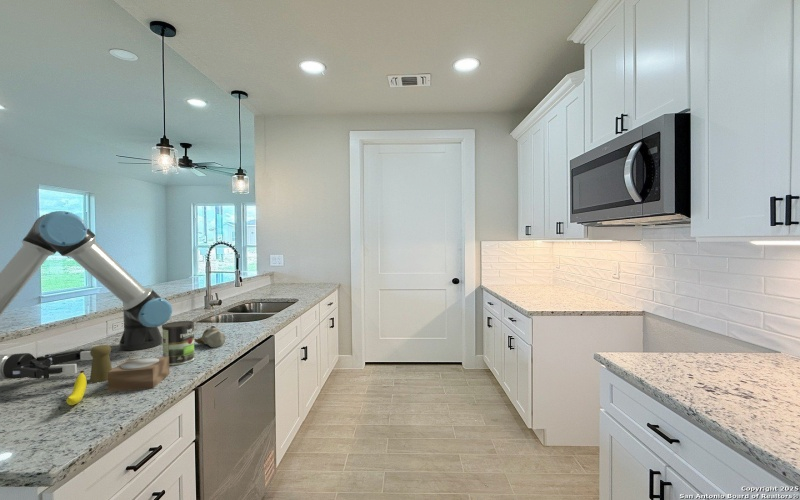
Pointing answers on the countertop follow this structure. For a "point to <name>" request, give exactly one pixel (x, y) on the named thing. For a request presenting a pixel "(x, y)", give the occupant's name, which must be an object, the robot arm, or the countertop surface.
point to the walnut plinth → (138, 374)
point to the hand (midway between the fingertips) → (90, 361)
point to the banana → (78, 390)
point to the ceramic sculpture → (212, 337)
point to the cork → (100, 363)
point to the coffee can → (178, 342)
